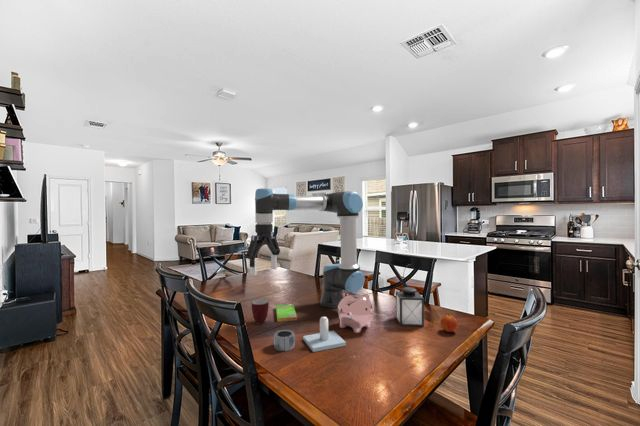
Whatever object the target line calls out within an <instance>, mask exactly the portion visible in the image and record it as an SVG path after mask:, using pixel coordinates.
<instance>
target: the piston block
mask: <svg viewBox="0 0 640 426" xmlns="http://www.w3.org/2000/svg"><path fill="white" fill-rule="evenodd" d="M302 336H303V341H304V342H305V344H306V345H307V347H308V348H310V350H311V351H312V352H313V353H315V352H321V351H322V352H323V351H327V350H331V349H336V348H341V347H346V346H347V341H345V340H344V339H343V338H342V337H341V336H340V335H339V334H338V333H337V332H336V331H335V330H329V318H328V317H327V316H321V317H320V318H319V333H318V332H317V333H312V334H308V335H302Z"/></svg>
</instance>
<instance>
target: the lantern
mask: <svg viewBox="0 0 640 426" xmlns="http://www.w3.org/2000/svg"><path fill="white" fill-rule="evenodd" d="M408 266H409V264H408V265H406V266H405V267H404V269H403V274H402V278H404V274H405V270H406V268H407V267H408ZM411 266H412V267H414V265H413V264H411ZM415 269H416V268H413V271H414V272H416V270H415ZM395 318H396V319H397V322H398V324H399V326H400V327H425V298H424V297H423V295H421V294H420V292H419V291H418V290H417V289H416V287H412V286H411V287H410V286H405V287H404V286H403V287H402V288H401V291H395Z"/></svg>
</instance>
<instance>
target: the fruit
mask: <svg viewBox="0 0 640 426" xmlns="http://www.w3.org/2000/svg"><path fill="white" fill-rule="evenodd" d="M440 325H441V326H440V327H441V328H442V329H443V330H444V331H446V332H447V333H454V332H455V331H456V330H457V329H458V320H457V319H456V317H454V316H453V315H449V313H447V315H444V316H442V317H441V320H440Z"/></svg>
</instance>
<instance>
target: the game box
mask: <svg viewBox="0 0 640 426" xmlns="http://www.w3.org/2000/svg"><path fill="white" fill-rule="evenodd" d="M275 312H276V320H277V323H278V322H291V321H298V316H297V312H296V310H295V306H294V304H293V303H288V304H285V303H284V304H276V305H275Z"/></svg>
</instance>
